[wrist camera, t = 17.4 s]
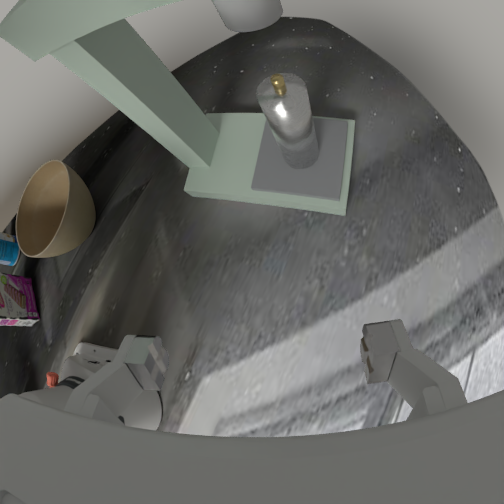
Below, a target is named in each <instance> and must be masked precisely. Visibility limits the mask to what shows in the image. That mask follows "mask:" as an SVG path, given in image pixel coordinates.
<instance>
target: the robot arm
mask: <svg viewBox="0 0 504 504" xmlns="http://www.w3.org/2000/svg"><path fill="white" fill-rule="evenodd" d="M362 332H363V336H364V337H363V338H362V339H361V344H360V352H361V358H362V362H363V363H364V364H366V365H365V369H364V372H365V376H366V381H367V384H371V383H379V382H386V381H388V383H389V384H390V385H391V386H392V387H393V388H394V389H395V390H396V391H397V392H398V393H399V394H400V396H401V397H402V398H403V399H404V400H405V401H406V402H407V403H408V404H409V405H410V406H411V407H412V408H413V410H412V411H411V413H410V415H409V417H408V418H407V420H406V421H403V422H398V423H393V424H388V425H383V426H378V427H372V428H366V429H360V430H353V431H346V432H338V433H329V434H319V435H306V436H290V437H218V436H202V435H190V434H179V433H171V432H163V431H155V430H156V429H157V428H158V426H159V424H160V421H161V417H162V408H161V402H160V398H159V395H158V393H157V391H161V388H162V385H163V382H164V379H165V378H164V376H163V373H164V372H166V371H167V369H168V366H169V356H168V352H167V350H166V349H165V348H164V347H162V346H161V345H162V340H161V338H160V337H159V336H146V335H126V336H125V337H124V339H123V341H122V343H121V345H120V347H119V349H114V348H109V347H104V346H100V345H96V344H91V343H87V342H80V343H79V344H78V345H77V347H76V349H75V351H74V355H73V356H70V357H68V358H67V359H66V360H65V362H64V364H63V368H62V374H61V382H60V383H58V374H56V373H53V372H49V373H47V384H48V385H49V386H50V388H45V389H40V390H35V391H30V392H24V393H22V394H20V395H16V394H8V395H6V396H4V397H3V398H1V399H0V504H504V390H502V391H499V392H497V393H494V394H492V395H489V396H487V397H484V398H481V399H479V400H476V401H473V402H470V403H467V400H466V398H465V395H464V392H463V390H462V387H461V385H460V382H459V380H458V378H457V377H455V376H454V375H453V374H451V373H450V372H448V371H447V370H446V369H444V368H443V367H442V366H440V365H439V364H437V363H436V362H435V361H433V360H432V359H431V358H429V357H428V356H426V355H425V354H424V353H422V352H421V351H419V350H418V349H413V347H412V344H411V341H410V339H409V337H408V334H407V332H406V329H405V327H404V324H403V322H402V320H401V319H397V320H391V321H384V322H377V323H370V324H364V326H363V330H362Z"/></svg>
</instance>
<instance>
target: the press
mask: <svg viewBox="0 0 504 504" xmlns="http://www.w3.org/2000/svg"><path fill="white" fill-rule="evenodd" d="M178 1H182V0H19V1H18V3H17V4H16V5H15V6H14V7H13V9H12V10H11V11H10V12H9V13H8V15H7V16H6V17H5V18H4V20H3V21H2V22H1V24H0V37H1V38H3V39H4V40H5V41H7V42H9V43H10V44H11V45H12V46H14V47H15V48H17V49H18V50H19V51H21V52H22V53H24V54H25V55H26V56H28V57H29V58H31V59H32V60H33V61H37V60H39V59H40V58H42V57H44V56H46V55H47V54H51V55H52V56H53V57H54V58H56V59H57V60H58V61H59V62H61V63H62V64H63V65H65V66H66V67H67V68H68V69H70V70H71V71H72V72H74V73H75V74H76V75H77V76H78V77H80V78H81V79H82V80H83V81H85V82H86V83H87V84H88V85H90V86H91V87H92V88H94V89H95V90H96V91H97V92H98V93H100V94H101V95H102V96H103V97H105V98H106V99H107V100H108V101H109V102H111V103H112V104H113V105H114V106H116V107H117V108H118V109H119V110H120V111H122V112H123V113H124V114H125V115H127V116H128V117H129V118H130V119H131V120H133V121H134V122H135V123H136V124H137V125H139V126H140V127H141V128H142V129H144V130H145V131H146V132H147V133H148V134H150V135H151V136H152V137H153V138H154V139H156V140H157V141H158V142H159V143H160V144H161V145H163V146H164V147H165V148H166V149H167V150H169V151H170V152H171V153H172V154H173V155H175V156H176V157H177V158H178V159H179V160H180V161H182V162H183V163H184V164H185V165H186V166H187V167H189V168H190V169H189V173H188V176H187V180H186V184H185V187H184V191H185V192H187V193H188V194H190V195H191V196H193V197H203V198H213V199H222V200H231V201H240V202H249V203H257V204H265V205H273V206H281V207H288V208H296V209H303V210H310V211H317V212H323V213H330V214H337V215H343V216H345V215H346V208H347V200H348V192H349V184H350V175H351V165H352V155H353V144H354V132H355V120H349V119H340V118H331V117H320V116H312V117H313V122H314V127H315V132H316V138H317V143H318V149H319V156H318V159H317V161H316V162H315V163H314V164H313V165H312V166H310V167H309V168H306V169H295V168H292V167H290V166H289V165H288V164H287V163H286V162H285V160H284V158H283V156H282V154H281V151H280V149H279V147H278V144H277V142H276V140H275V138H274V135H273V133H272V131H271V129H270V126H269V124H268V122H267V120H266V117H265V115H264V113H207V114H206V116H205V115H204V113H203V112H202V111H201V109H200V108H199V107H198V106H197V104H196V103H195V102H194V101H193V99H192V98H191V97H190V96H189V94H188V93H187V92H186V91H185V89H184V88H183V87H182V86H181V85H180V83H179V82H178V81H177V80H176V78H175V77H174V76H173V75H172V74H171V72H170V71H169V70H168V69H167V67H166V66H165V65H164V64H163V63H162V61H161V60H160V59H159V58H158V57H157V55H156V54H155V53H154V52H153V51H152V50H151V48H150V47H149V46H148V45H147V44H146V43H145V41H144V40H143V39H142V38H141V37H140V36H139V34H137V32H136V31H135V30H134V29H133V28H132V26H131V25H130V24H129V23H128V22H127V21H126V20H125V18H127V17H129V16H132V15H135V14H138V13H141V12H144V11H147V10H150V9H153V8H156V7H160V6H163V5H167V4H170V3H174V2H178ZM212 1H213V3H214V5H215V7H216V9H217V11H218V12H219V14H220V16H221V18H222V20H223V22H224V24H225V26H226V27H227V28H228V29H230V30H232V31H235V32H251V31H256V30H259V29H263V28H265V27H267V26H270V25H271V24H273V23H275V22H276V21H277V20H278V19H279V18H280V17H281V15H282V13H283V9H282V6H281V3H280V0H212Z"/></svg>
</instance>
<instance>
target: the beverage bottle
mask: <svg viewBox="0 0 504 504" xmlns="http://www.w3.org/2000/svg"><path fill="white" fill-rule="evenodd" d="M19 255H20V247H19V245H18V242H17V237H16V236H14V235H9V234H5V233H1V232H0V264H4V265H9V266H13V265H15V264H16V262H17V261H18V258H19Z"/></svg>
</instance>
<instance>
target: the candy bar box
mask: <svg viewBox="0 0 504 504" xmlns="http://www.w3.org/2000/svg"><path fill="white" fill-rule="evenodd" d="M39 320H40V317H39V313H38V309H37V305H36V301H35V296H34V292H33V287H32V281H31V278H29V277H23V276H16V275H11V274H4V273H0V325H7V326H33V325H34V324H35V323H36V322H37V321H39Z"/></svg>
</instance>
